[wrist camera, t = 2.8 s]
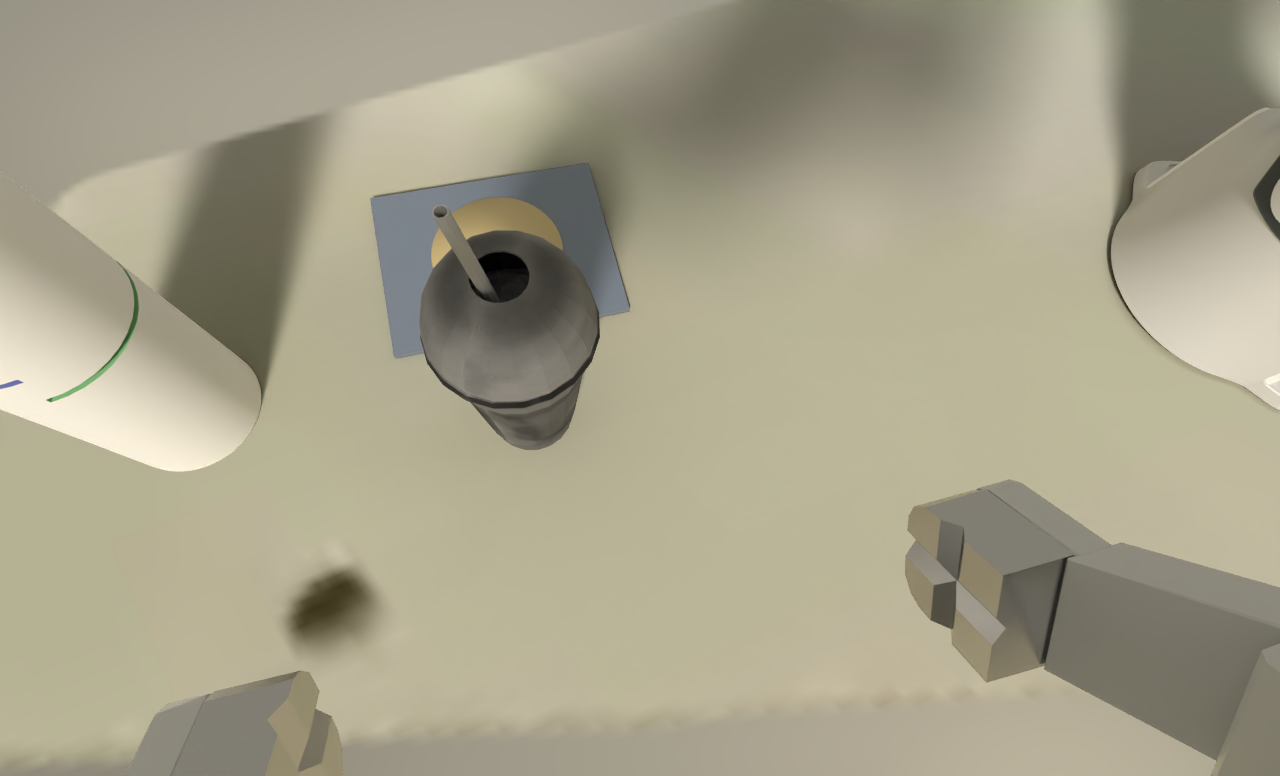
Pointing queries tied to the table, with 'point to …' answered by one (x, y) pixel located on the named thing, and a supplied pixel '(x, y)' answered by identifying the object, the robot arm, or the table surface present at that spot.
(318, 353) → the table surface
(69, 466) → the table surface
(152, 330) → the cylindrical container
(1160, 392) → the table surface
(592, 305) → the beverage cup
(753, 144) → the table surface
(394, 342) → the card
